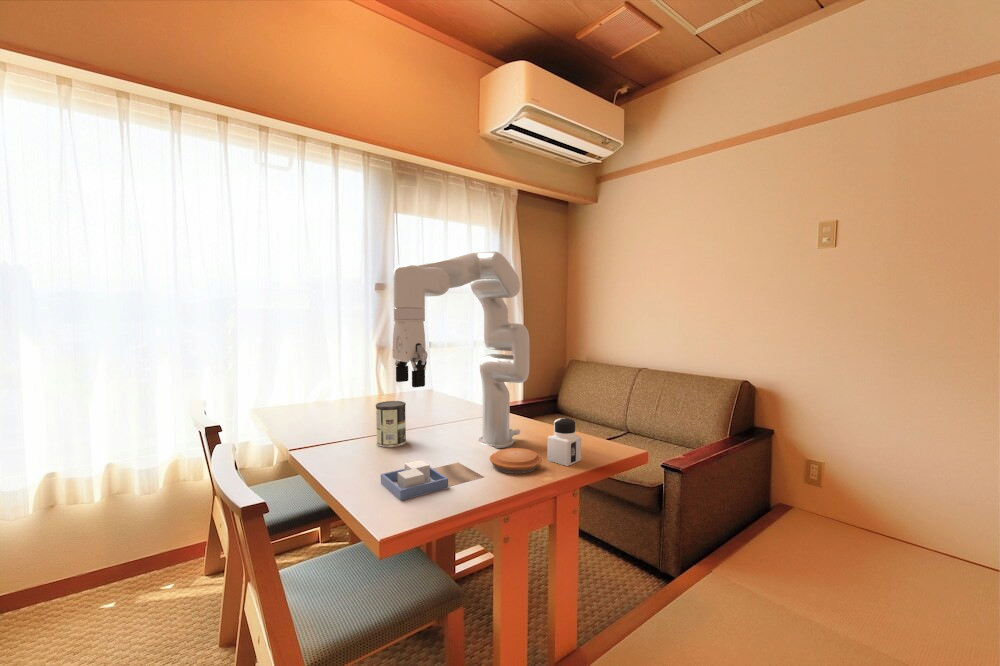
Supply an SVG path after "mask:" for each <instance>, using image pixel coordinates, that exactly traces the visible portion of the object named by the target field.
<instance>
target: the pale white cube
mask: <svg viewBox="0 0 1000 666" xmlns="http://www.w3.org/2000/svg"><path fill="white" fill-rule="evenodd" d="M420 484H424V474H423V473H422V472H420V471H419V470H418V469H416V468H415V469H411V470H406V471H402V472H398V480H397V486H398V487H400V488H401V489H405V488H408V487H412V486H416V485H420Z"/></svg>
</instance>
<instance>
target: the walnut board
mask: <svg viewBox="0 0 1000 666" xmlns="http://www.w3.org/2000/svg"><path fill="white" fill-rule="evenodd" d="M432 468H433V469H434V470H436V471H437V472H439V473H441V474H442V475H444V476H445V477H447V478H448V487H453V486H456V485H460V484H464V483H468V482H471V481H475V480H479V479H482V478H484V476H483V475H481V474H480V473H478V472H476V471H474V470H473V469H471V468H469V467H467V466H466V465H464V464H461V463H460V462H455V463H451V464H450V463H449V464H447V465H441V466H438V467H432Z"/></svg>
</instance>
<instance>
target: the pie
mask: <svg viewBox="0 0 1000 666" xmlns="http://www.w3.org/2000/svg"><path fill="white" fill-rule="evenodd" d="M489 461H490V463H491V464H492V465H493V466H494V468H495V469H496V470H497V471H500V472H503V473H506V474H508V473H509V474H526V473H530V472H533V471H534V470H537V468H538V466H539V465H540V464H541V463H542V462H543V457H542V456H541V455H540V454H539V453H537V452H535V451H533V450H531V449H527V448H521V447H512V448H509V447H507V448H502V449H499V450H497V451H496V452H494V453H492V454H491V455H490V456H489Z"/></svg>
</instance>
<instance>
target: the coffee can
mask: <svg viewBox="0 0 1000 666" xmlns="http://www.w3.org/2000/svg"><path fill="white" fill-rule="evenodd" d="M406 405H407V404H406V402H405V401H399V400H388V401H387V400H386V401H380V402H378V403H375V411H376V412H375V414H376V415H375V418H376V419H375V420H376V421H375V422H376V425H375V426H376V428H375V430H376V446H378V447H380V446H382V447H381V448H396V447H400V445H401V446H403V445H405V444H406V442H407V437H406V436H407V435H406V433H407V431H406V427H407V426H406Z"/></svg>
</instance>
